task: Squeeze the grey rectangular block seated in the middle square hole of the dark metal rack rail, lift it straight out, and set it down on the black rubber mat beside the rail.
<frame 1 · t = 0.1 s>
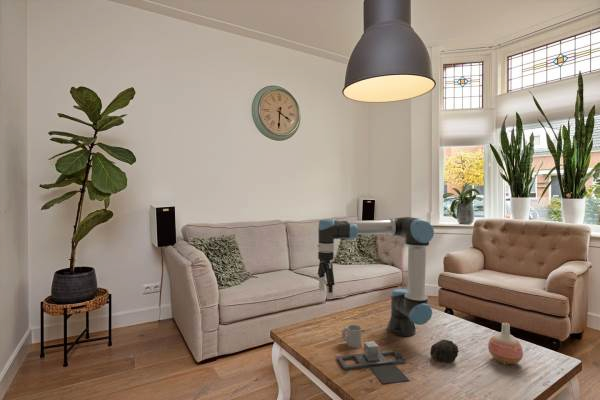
hand: (325, 294, 159), 28 cm above the table, fingers open, 13 cm apart
vase: (504, 361, 151), on the table
cup: (351, 344, 166), on the table
rock: (443, 360, 152), on the table
grey rectangular block: (371, 352, 150), in the rack rail
rack rail: (370, 360, 150), on the table
rubber mat: (389, 374, 139), on the table
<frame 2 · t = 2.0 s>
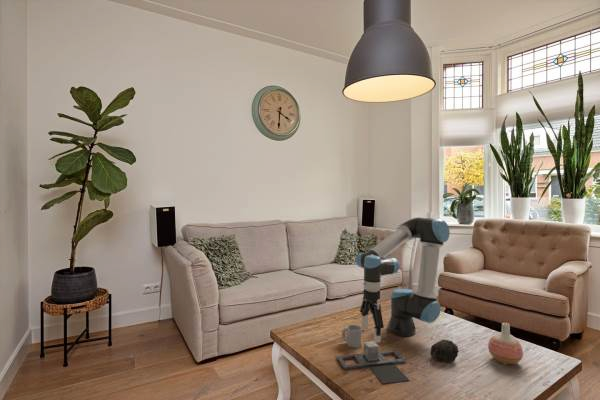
hand: (370, 335, 150), 12 cm above the table, fingers open, 13 cm apart
nothing on the table moved.
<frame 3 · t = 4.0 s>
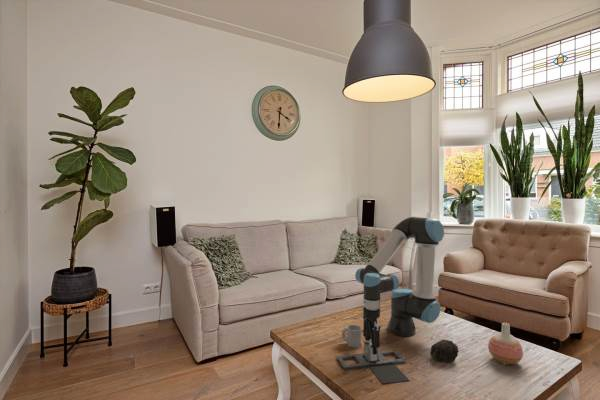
hand: (370, 357, 150), 2 cm above the table, fingers closed on grey rectangular block, 5 cm apart
grey rectangular block: (370, 352, 150), in the rack rail, touching gripper
everything else where it was.
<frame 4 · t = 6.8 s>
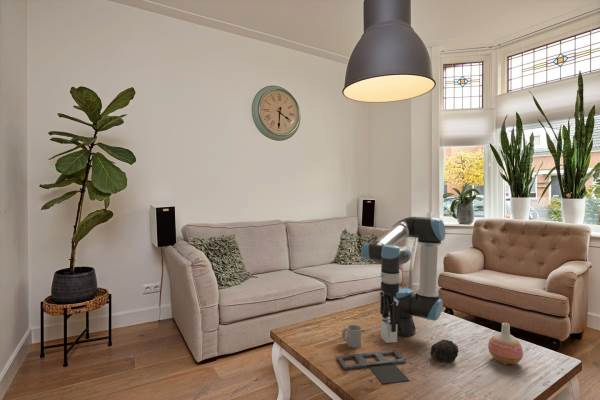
hand: (389, 335, 139), 17 cm above the table, fingers closed on grey rectangular block, 5 cm apart
grey rectangular block: (389, 330, 139), point 19 cm above the table, touching gripper
everything else where it was.
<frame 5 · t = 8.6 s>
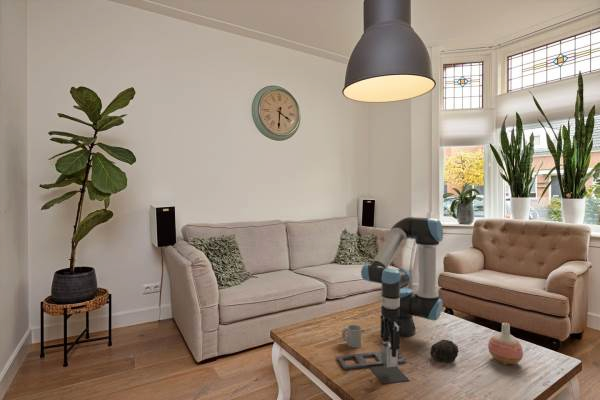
hand: (389, 359, 139), 6 cm above the table, fingers closed on grey rectangular block, 5 cm apart
grey rectangular block: (389, 354, 139), point 9 cm above the table, touching gripper
everything else where it was.
when the fingers open (4 cm above the table, at t = 9.9 s): grey rectangular block drops 1 cm, resting on rubber mat.
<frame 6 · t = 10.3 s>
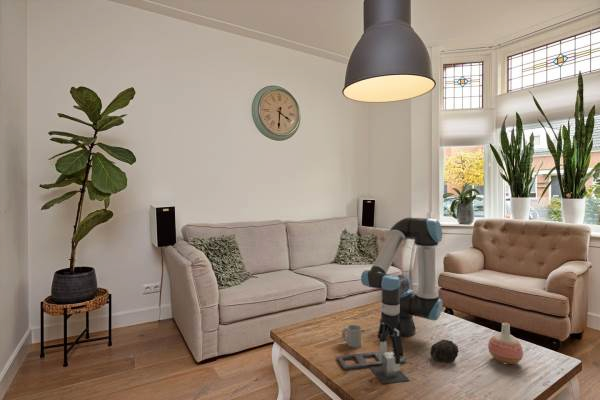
hand: (389, 363, 139), 5 cm above the table, fingers open, 11 cm apart
grey rectangular block: (389, 364, 139), on the rubber mat
everything else where it was.
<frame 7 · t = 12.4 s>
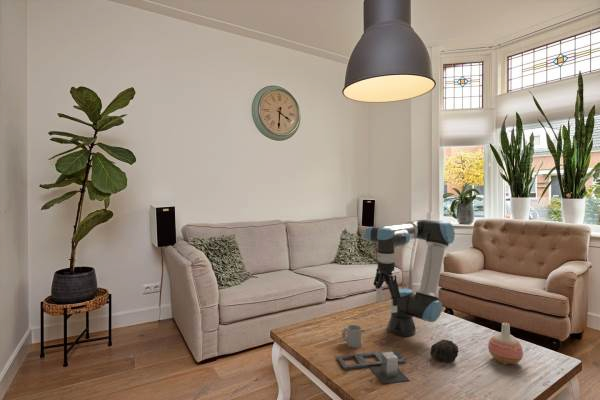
hand: (386, 306, 150), 25 cm above the table, fingers open, 13 cm apart
nothing on the table moved.
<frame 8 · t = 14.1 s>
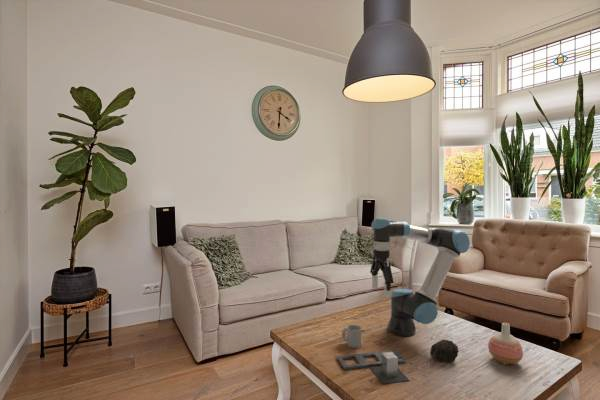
hand: (380, 292, 160), 29 cm above the table, fingers open, 13 cm apart
nothing on the table moved.
at the end: grey rectangular block inside the target area on the rubber mat (0.0 cm from its centre), point 4.4 cm above the rubber mat's base; grey rectangular block tilted 0°; the gripper is holding nothing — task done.
